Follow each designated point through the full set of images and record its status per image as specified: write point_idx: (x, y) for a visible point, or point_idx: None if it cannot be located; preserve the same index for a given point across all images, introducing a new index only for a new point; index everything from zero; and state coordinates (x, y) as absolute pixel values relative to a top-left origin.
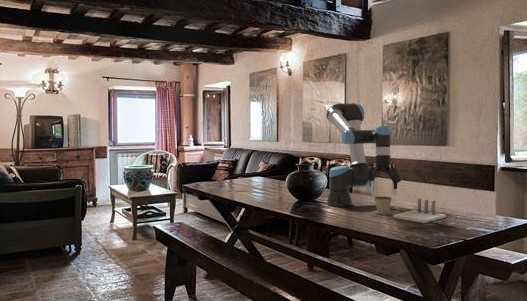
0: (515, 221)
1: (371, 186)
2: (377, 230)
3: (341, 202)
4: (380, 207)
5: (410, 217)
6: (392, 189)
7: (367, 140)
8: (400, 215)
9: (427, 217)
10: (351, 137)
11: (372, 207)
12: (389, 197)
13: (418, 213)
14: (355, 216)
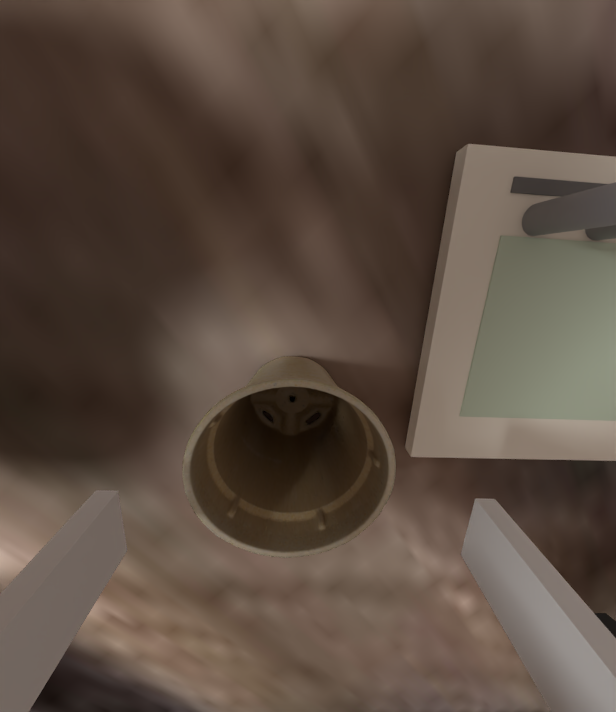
0: None
1: (31, 680)
2: (474, 678)
3: None
4: (302, 473)
5: (537, 445)
6: (529, 655)
7: None
8: (460, 437)
9: None
10: None
11: (41, 226)
12: (320, 389)
13: (549, 291)
14: (222, 565)
